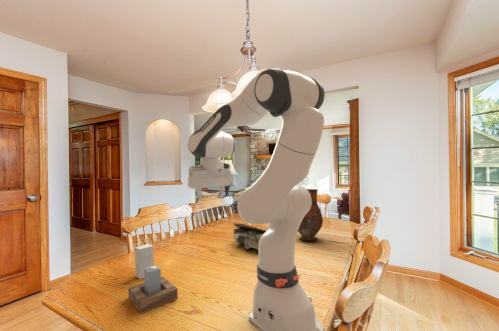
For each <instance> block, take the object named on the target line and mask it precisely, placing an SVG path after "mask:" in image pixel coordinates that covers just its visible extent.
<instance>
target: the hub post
mask: <svg viewBox="0 0 499 331" xmlns="http://www.w3.org/2000/svg"><path fill="white" fill-rule="evenodd" d="M161 271H162V269H161V268H160V267H159V266H158V265H156V264H154V266H151V267H148V268H144V278H143V279H144V282H145V295H146V296H147V295H150V294H153V293H156V292H158V291H161V277H162V276H161V274H162V273H161Z"/></svg>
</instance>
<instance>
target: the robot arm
mask: <svg viewBox="0 0 499 331" xmlns="http://www.w3.org/2000/svg"><path fill="white" fill-rule="evenodd" d="M324 101H325V89H324V86H323V85H322V84H321V83H320V82H319V81H318V80H317V79H315V78H313V77H309V76H306V75H303V74H301V73H299V72H297V71H293V70H286V69H284V70H283V69H282V68H276V67H274V68H267V69H261V70H260V71H259V72H257V74H255V75H254V76H253V77H252V78H251V79H250V80H249V82H248V83H247V84H246V85H245V86H244V88H243V89H242V91H240V93H239V94H238V95H237V96H236V97H235V98H233V99H232V100H231V101H229V102H228V103H226V104H223V105H222V106H220V107H219V108H217V110H216V111H214V113H213V114H212V115H211V116H210V117H209V118H208V119H207V120H206V122H204V124H203V125H202V126H200V127H199V129H197V130H195V131H194V132H193V133H192V134H191V135H190V136H189V139H188V141H187V142H188V144H187V146H188V151H189V152H190V154H192V155H193V156H194V157H195V158H197V159H200V160H199V165H192V166H190V167H189V168H188V179H187V187H188V188H190V189H195V191H196V193H197V194H198V199H199V200H203V199H205V194H203V193H202V190H203V189H204V188H206V189H207V188H215V187H219V191H218V192H217V197H219V198H220V197H221V198H222V197H223V193H224V190H225V187H228V186H231V185H232V183H233V182H232V181H233V180H232V179H233V177H232V171H231V167H232V165H231V164H230V163H228V162H225V161H222V158H228V157H230V156H232V155H233V153H234V152H235V150H236V140H235V138H234V137H233V135H232V134H229V133H226V132H224V130H227V129H230V128H233V127H234V128H235V127H246V126H254V125H256V124H257V123H259V122H260V121H262V120H263V119H264V118H265V117H266V116H267V115H268V114H270V116H272V117H274V118H278V117H280V118H281V120H282V125H281V129H280V132H279V136H278V138H277V140H276V143H275V147H274V150H273V153H272V156H271V158H270V161H269V163H268V165H267V166H266V168H265V169H264V171H263V173H262V174H261V175H260V177H259V178H258V179H257V180H255V182H254V183H253V184H252V185H250V186H249V187H248V188H247V189H244V190H243V191H242V192H241V193H240V195H239V196H238V198H237V199H238V200H237V204H236V205H237V207H236V209H237V212H238V215H239V217H240V218H241V220H243V221H244V223H246V224H251V225H266V224H269V225H268V228H267V229H266V232H265V233H264V234H263V235H262V236H261V237H260V239H259V243H258V250H257V251H258V252H257V254H258V264H257V265H256V279H257V282H256V285H255V287H254V289H253V298H252V310H251V312H250V313H249V315H248V320H249V321H250V322H251V323H253V324H254V325H255V326H256V327H258V328H259V329H260V330H262V331H325V330H326V329H325V326H324V324H322V322H321V321H320V320H319V319H318V318H317V317H316V311H315V306H314V305H313V303H312V302H313V300H312V296H310V295H307V293H306V292H305V290H304V289H303V287H302V285H301V283H300V282H299V280H300V279H301V275H300V274H298V270H297V267H296V265H295V251H296V250H295V249H296V239H297V235H298V233H299V232H298V229H299V226H300V224H301V222H302V219H303V218H304V216H305V215H306V214H307V213H308V212H309V210H310V208H311V205H312V199H311V195H310V193H309V191H308V190H307V189H308V188H306V187H305V186H302V185H298V184H300V183H302V182H303V181H304V180H305V178H306V177H307V176H308V174H309V171H310V170H311V166H312V164H313V161H314V158H315V156H316V154H317V151H318V148H319V145H320V142H321V140H322V135H323V131H324V125H325V117H324V115H323V112H321V111H320V110H319V109H321V107H322V105H323V104H324Z"/></svg>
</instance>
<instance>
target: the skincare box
mask: <svg viewBox="0 0 499 331" xmlns="http://www.w3.org/2000/svg"><path fill="white" fill-rule="evenodd" d="M154 258H155V257H154V245H153V244H150V243H146V244H142V245H139V246H136V247H134V267H135V268H134V269H135V272H134V273H135V277H136V278H138V279H139V280H142V279H145V278H144V268H148V267H151V266H155V264H154V263H155V259H154Z"/></svg>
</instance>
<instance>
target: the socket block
mask: <svg viewBox="0 0 499 331" xmlns="http://www.w3.org/2000/svg"><path fill="white" fill-rule="evenodd" d="M128 299H129V301H131V302H132V304H133V306H135V309H137V310H138V311H139V313H140V314H143V313H145V312H149V311H150V310H152V309H153V310H154V309H156V308H158V307H160V306H163V305H165V304H167V303H171V302H173V301H176V300H177V299H178V288H177V286H175V285H174V284H172V283H171V282H170V281H168V280H167V279H166V278H165V277H164V276H161V291H158V292H156V293H153V294H150V295H147V296H146V295H145V281H144V282H142V283H138V284H136V285H132V286H129V287H128Z"/></svg>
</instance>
